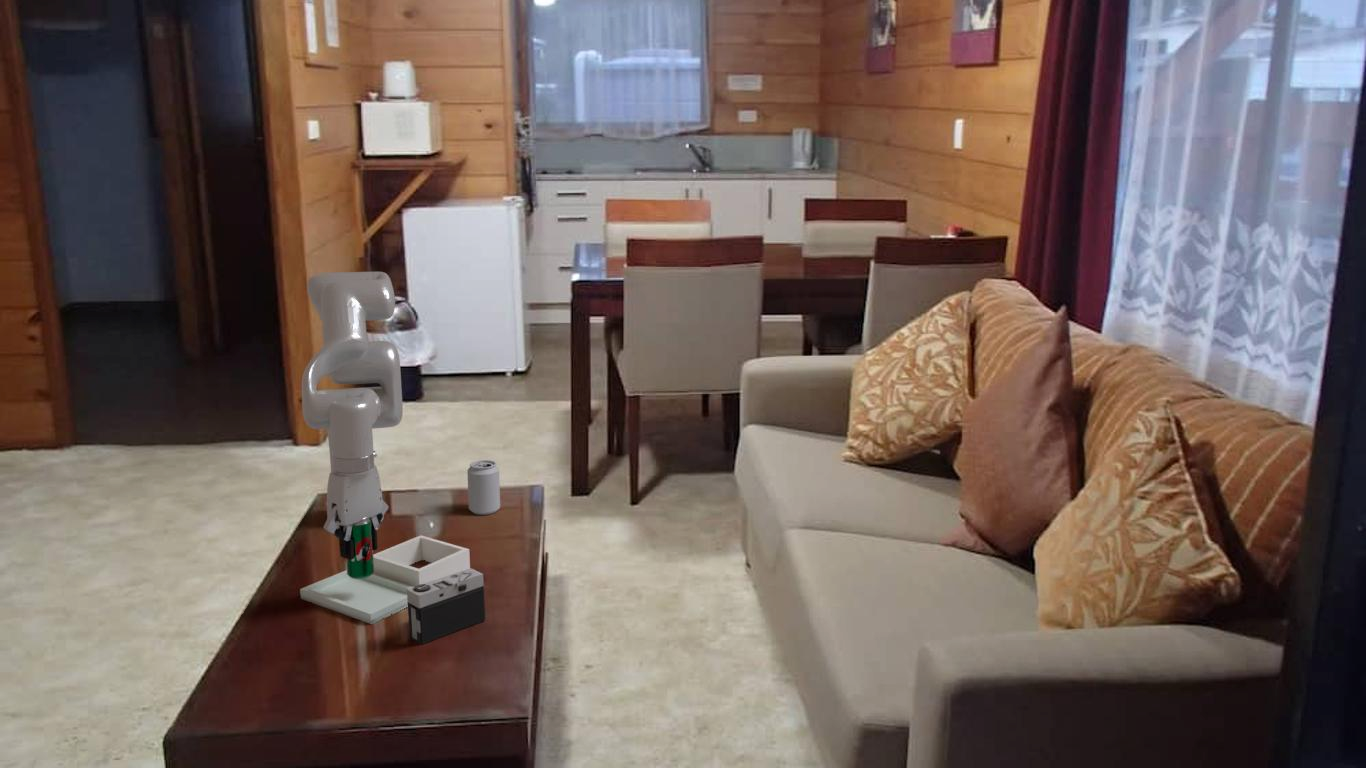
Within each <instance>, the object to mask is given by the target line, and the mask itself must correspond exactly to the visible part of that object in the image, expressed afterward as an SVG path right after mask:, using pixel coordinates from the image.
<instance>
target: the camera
mask: <svg viewBox="0 0 1366 768" xmlns="http://www.w3.org/2000/svg"><path fill="white" fill-rule="evenodd" d="M484 586H485V585H484V573H481V572H480V571H477V570H475V569H474V568H470V569H466V570H463V571H460V572H457V573H454V574H451V575H448V576H445V577H442V578H439V579H436V580H433V581H430V582H427V583H424V584H420V585H417V586H415V587H412V588H409V589H407V601H408V607H407V612H408V613H407V614H408V628H409V629H408V633H409V639H410V640H412V641H413V642H415V643H417V644H418V645H420V646H421V645H424V644H427V643H429V642H432V641H434V640H437V639H440V638H443V637H446V636H448V635H451V634H454V633H456V632H458V631H462V630H464V629H467V628H469V627H472V626H474V625H478V624H480V623H482V622H485V621H486V607H485V606H486V605H485V587H484Z"/></svg>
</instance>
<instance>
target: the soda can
mask: <svg viewBox="0 0 1366 768" xmlns="http://www.w3.org/2000/svg"><path fill="white" fill-rule="evenodd" d="M343 531H345V527H344V529H343ZM350 539H352V540H353V546H354V559H352V560H349V559H346V558H345V564H346V570H347V575H348V576H349V577H351V578H353V579H363V578H367V577H369V576H371V575H372V574H373V572H374V560H373V555H374V550H373V543H372V527H371V519H370V518H368V517H366V518H364V519H361V521H359V522H357V523H355V524H353V525H352V530H351V536H350Z"/></svg>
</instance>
